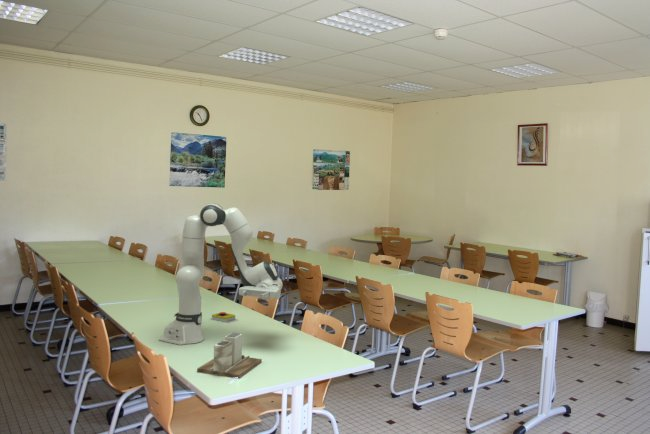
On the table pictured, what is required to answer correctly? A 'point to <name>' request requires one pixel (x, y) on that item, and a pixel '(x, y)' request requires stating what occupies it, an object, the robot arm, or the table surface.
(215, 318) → the emergency button
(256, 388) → the table surface
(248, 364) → the rail board
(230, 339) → the grey module block
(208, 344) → the table surface
